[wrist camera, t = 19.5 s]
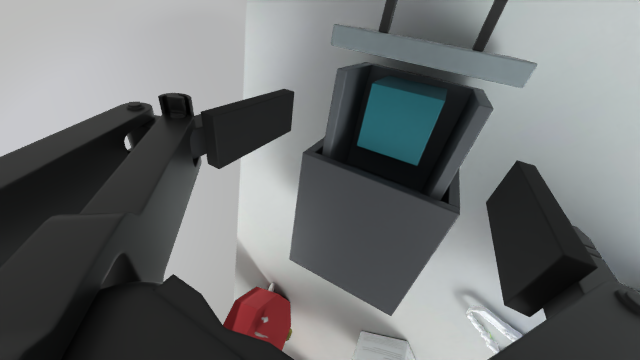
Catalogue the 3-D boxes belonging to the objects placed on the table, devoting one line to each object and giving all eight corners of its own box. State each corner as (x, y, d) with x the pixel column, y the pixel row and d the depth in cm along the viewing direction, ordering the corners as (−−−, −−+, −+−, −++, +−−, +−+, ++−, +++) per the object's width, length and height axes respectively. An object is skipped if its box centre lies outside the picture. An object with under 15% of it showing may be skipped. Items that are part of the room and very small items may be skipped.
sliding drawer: (388, -66, 17) (355, -118, 12) (573, -54, 14) (652, -119, 8) (337, 160, 28) (307, 189, 23) (433, 197, 25) (427, 242, 19)
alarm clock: (259, 271, 52) (175, 368, 36) (291, 280, 47) (211, 395, 32) (277, 315, 58) (212, 414, 42) (307, 327, 54) (247, 442, 38)
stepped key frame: (446, 307, 32) (446, 318, 31) (479, 296, 29) (480, 308, 28) (524, 373, 31) (527, 388, 30) (566, 369, 28) (572, 385, 27)
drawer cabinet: (342, 123, 27) (302, 152, 20) (459, 162, 23) (460, 214, 16) (322, 216, 35) (288, 259, 28) (405, 255, 31) (391, 316, 24)
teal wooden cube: (387, 75, 21) (372, 82, 17) (447, 88, 19) (445, 100, 15) (372, 128, 23) (356, 145, 20) (423, 144, 22) (416, 166, 18)
